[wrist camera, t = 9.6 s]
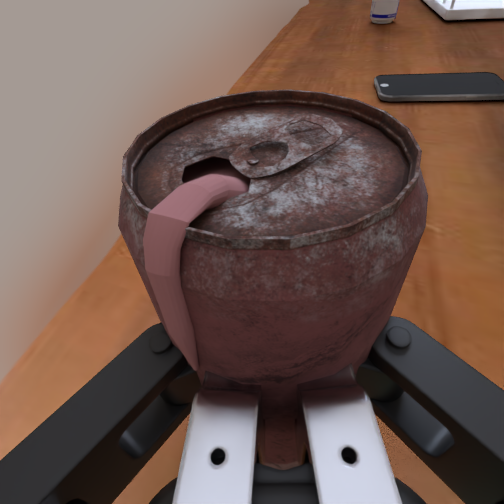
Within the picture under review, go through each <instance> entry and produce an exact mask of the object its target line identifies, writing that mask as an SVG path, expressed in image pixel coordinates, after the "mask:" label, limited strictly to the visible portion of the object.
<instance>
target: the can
mask: <svg viewBox="0 0 504 504" xmlns="http://www.w3.org/2000/svg"><path fill="white" fill-rule="evenodd" d="M421 153H422V151H421V149H420V147H419V145H418V144H417V142H416V140H415V138H414V136H413V135H412V133H411V131H410V129H409V128H407V127H406V126H405V125H403V124H402V123H401V122H399V121H398V120H397V119H395V118H394V117H393V116H391V115H390V114H389V113H387V112H386V111H383V110H381V109H378V108H376V107H373V106H371V105H369V104H366V103H364V102H361V101H359V100H356V99H351V98H347V97H342V96H338V95H333V94H328V93H324V92H312V91H299V90H267V91H251V92H245V93H238V94H232V95H225V96H220V97H216V98H213V99H209V100H206V101H202V102H199V103H195V104H192V105H189V106H186V107H184V108H182V109H180V110H178V111H175V112H173V113H171V114H169V115H167V116H165V117H162V118H161V119H159V120H158V121H156V122H155V123H153V124H152V125H151V126H150V127H148V128H147V129H145V130H144V131H143V132H141V133H140V134H139V135H137V137H136V138H135V140H134V141H133V143H132V144H131V146H130V147H129V149H128V150H127V152H126V153H125V154H124V156H123V167H122V183H123V186H122V191H121V196H120V209H119V224H118V226H119V229H120V231H121V233H122V235H123V238H124V240H125V242H126V244H127V247H128V249H129V251H130V253H131V256H132V258H133V260H134V262H135V265H136V267H137V269H138V271H139V274H140V276H141V278H142V280H143V283H144V285H145V287H146V289H147V292H148V294H149V296H150V298H151V301H152V303H153V305H154V307H155V310H156V312H157V314H158V316H159V319H160V321H161V323H162V324H163V326H164V328H165V330H166V332H167V333H168V335H169V337H170V339H171V341H172V344H173V345H175V346H176V347H177V348H178V349H179V350H180V351H181V352H182V353H183V355H184V356H185V358H186V360H187V362H188V364H189V365H190V366H191V367H192V368H193V370H195V371H196V372H197V374H198V377H199V380H200V382H201V385H202V384H203V381H204V376H205V371H209V372H212V373H214V374H217V375H220V376H222V377H225V378H228V379H230V380H233V381H236V382H238V383H241V384H254V385H261V387H262V414H263V419H265V425H266V431H265V466H269V467H272V468H275V469H279V470H287V469H290V468H293V467H296V466H299V465H298V458H297V450H296V439H295V428H294V422H295V419H297V413H298V405H297V395H296V391H297V384H300V383H304V382H308V381H311V380H315V379H319V378H322V377H326V376H330V375H333V374H336V373H337V372H338V371H340V370H341V369H343V368H344V367H346V366H347V365H349V364H350V363H352V367H353V370H354V374H355V376H356V373H357V370H358V367H359V365H361V364H362V363H364V362H365V361H366V359H367V358H368V356H369V353H370V350H371V347H372V345H373V344H374V342H375V340H376V339H377V337H378V336H379V334H380V333H381V331H382V330H383V328H384V327H385V325H386V324H387V322H388V321H389V318H390V316H391V313H392V311H393V308H394V305H395V303H396V300H397V298H398V295H399V293H400V290H401V288H402V285H403V283H404V280H405V277H406V275H407V272H408V270H409V267H410V265H411V262H412V260H413V257H414V255H415V252H416V250H417V247H418V244H419V242H420V239H421V237H422V234H423V232H424V229H425V226H426V214H427V201H428V193H427V190H426V186H425V183H424V179H423V176H422V172H421V169H420V161H421Z"/></svg>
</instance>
